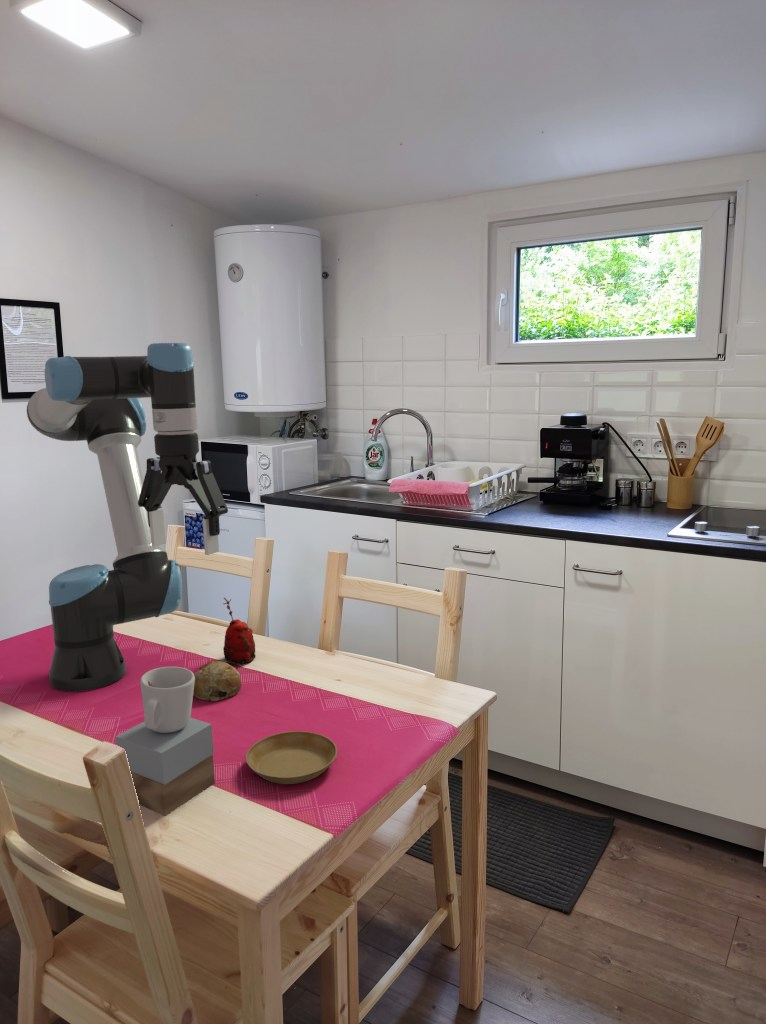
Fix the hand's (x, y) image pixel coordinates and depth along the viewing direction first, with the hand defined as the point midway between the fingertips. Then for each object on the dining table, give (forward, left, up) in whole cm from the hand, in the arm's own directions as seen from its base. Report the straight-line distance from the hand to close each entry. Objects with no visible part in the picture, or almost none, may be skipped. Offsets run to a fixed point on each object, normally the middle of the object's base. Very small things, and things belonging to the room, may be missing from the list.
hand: (184, 549), depth 135 cm
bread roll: (-3, +8, -32) cm, 33 cm away
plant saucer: (+28, -7, -32) cm, 43 cm away
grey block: (+16, -22, -27) cm, 38 cm away
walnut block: (+16, -22, -32) cm, 42 cm away
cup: (+16, -22, -22) cm, 35 cm away
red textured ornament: (-10, +23, -32) cm, 41 cm away
